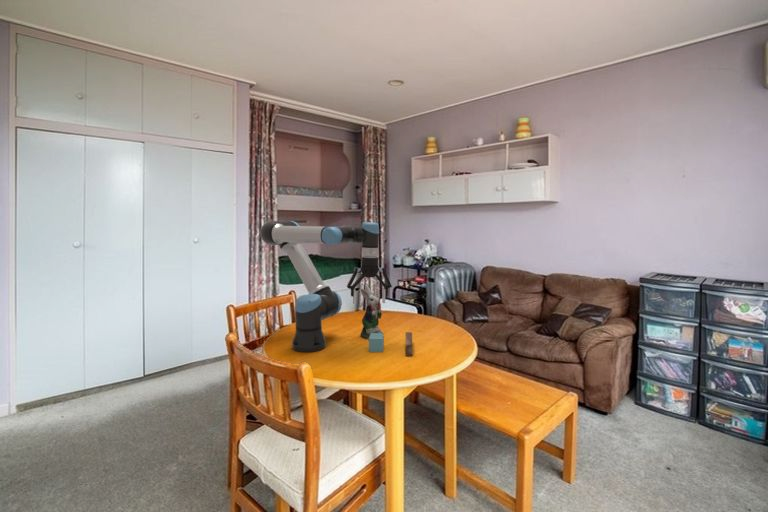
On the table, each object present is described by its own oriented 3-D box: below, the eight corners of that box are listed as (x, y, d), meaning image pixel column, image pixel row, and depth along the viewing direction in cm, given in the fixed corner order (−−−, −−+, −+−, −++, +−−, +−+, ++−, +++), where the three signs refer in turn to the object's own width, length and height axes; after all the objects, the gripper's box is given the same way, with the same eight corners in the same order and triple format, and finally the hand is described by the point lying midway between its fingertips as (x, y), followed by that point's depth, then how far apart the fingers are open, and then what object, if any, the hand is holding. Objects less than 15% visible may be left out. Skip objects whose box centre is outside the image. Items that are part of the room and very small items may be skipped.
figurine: (379, 342, 191) (385, 292, 187) (353, 338, 193) (359, 288, 190) (384, 335, 201) (390, 288, 198) (359, 331, 204) (365, 284, 200)
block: (369, 352, 174) (368, 338, 173) (370, 345, 183) (370, 332, 182) (382, 352, 173) (382, 339, 173) (383, 345, 182) (383, 333, 182)
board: (405, 355, 168) (405, 344, 168) (405, 342, 186) (405, 332, 186) (412, 356, 168) (412, 344, 167) (412, 342, 186) (412, 332, 185)
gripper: (343, 257, 171) (342, 305, 174) (398, 257, 176) (397, 304, 179) (341, 255, 179) (340, 301, 181) (395, 255, 184) (393, 300, 186)
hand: (369, 303), depth 180 cm, fingers open, 13 cm apart
